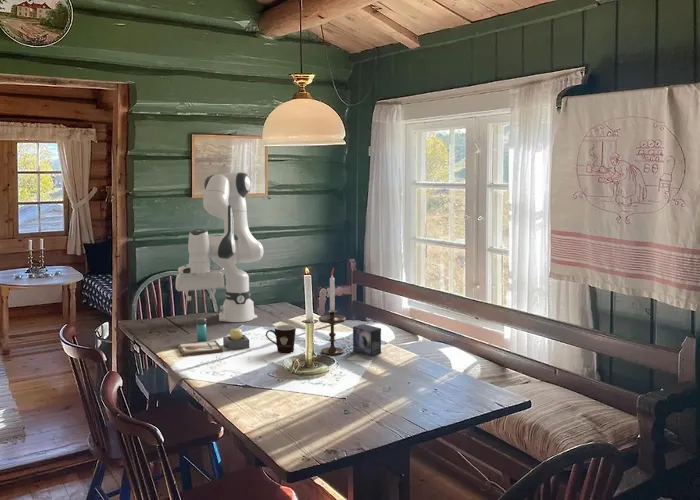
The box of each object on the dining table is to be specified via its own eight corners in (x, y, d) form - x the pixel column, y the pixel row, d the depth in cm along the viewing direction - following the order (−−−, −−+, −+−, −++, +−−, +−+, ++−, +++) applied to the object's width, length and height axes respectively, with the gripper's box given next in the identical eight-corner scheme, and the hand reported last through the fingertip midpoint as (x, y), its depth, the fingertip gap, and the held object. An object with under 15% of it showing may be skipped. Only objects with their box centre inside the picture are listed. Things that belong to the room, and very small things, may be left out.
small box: (351, 351, 275) (351, 326, 274) (363, 348, 280) (363, 323, 279) (370, 356, 268) (370, 330, 267) (381, 353, 272) (381, 328, 271)
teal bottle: (196, 341, 291) (195, 318, 290) (205, 340, 293) (205, 317, 292) (197, 343, 288) (197, 320, 286) (207, 342, 289) (207, 319, 288)
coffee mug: (300, 350, 277) (300, 326, 275) (288, 355, 269) (287, 331, 268) (277, 346, 283) (277, 323, 281) (264, 351, 275) (264, 327, 274)
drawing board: (177, 346, 282) (177, 343, 282) (215, 343, 288) (215, 339, 288) (182, 356, 268) (182, 353, 268) (222, 352, 274) (222, 348, 274)
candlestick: (351, 352, 274) (351, 267, 270) (332, 357, 266) (332, 270, 262) (331, 347, 281) (331, 264, 277) (313, 352, 273) (312, 267, 269)
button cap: (228, 338, 284) (228, 329, 283) (240, 337, 286) (240, 328, 285) (231, 341, 279) (231, 332, 279) (243, 340, 281) (243, 330, 281)
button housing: (223, 344, 285) (223, 336, 285) (244, 342, 289) (244, 334, 288) (227, 350, 277) (227, 341, 277) (249, 347, 280) (249, 339, 280)
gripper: (222, 265, 293) (223, 296, 295) (174, 268, 285) (175, 300, 287) (225, 267, 287) (226, 299, 289) (176, 270, 279) (177, 303, 281)
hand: (200, 299), depth 288 cm, fingers open, 8 cm apart
